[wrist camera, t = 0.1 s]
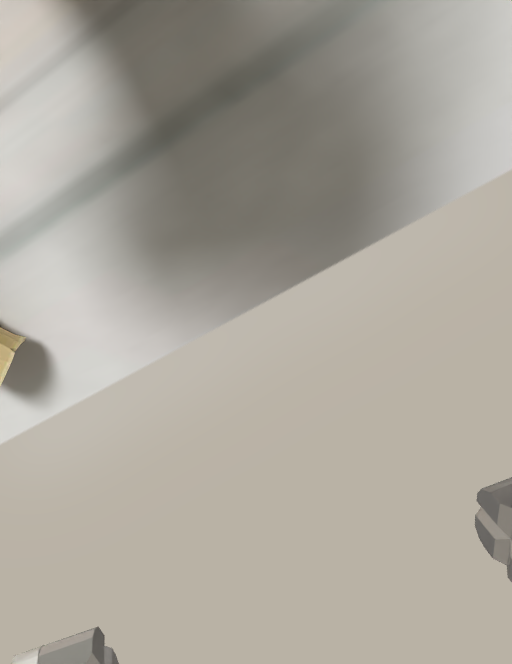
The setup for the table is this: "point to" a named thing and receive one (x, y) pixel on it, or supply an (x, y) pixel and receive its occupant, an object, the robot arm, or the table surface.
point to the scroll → (8, 350)
